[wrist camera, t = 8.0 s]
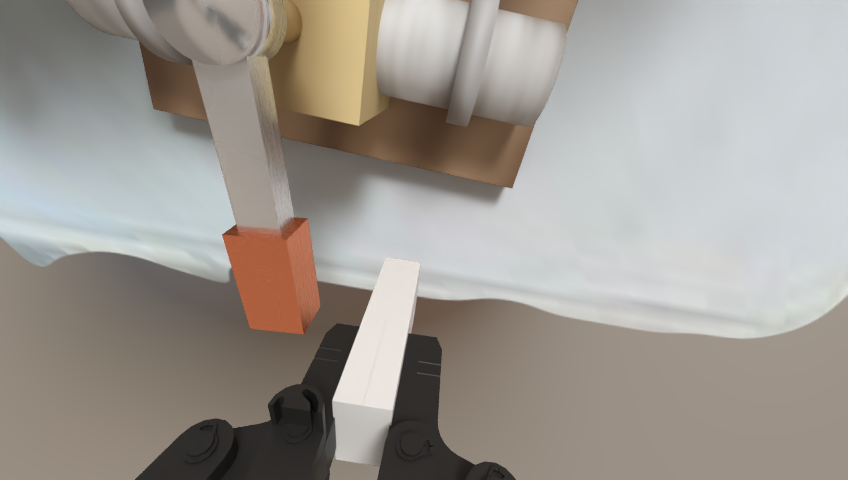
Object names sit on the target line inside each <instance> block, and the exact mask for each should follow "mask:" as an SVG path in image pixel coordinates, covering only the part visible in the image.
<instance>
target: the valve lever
mask: <svg viewBox="0 0 848 480" xmlns="http://www.w3.org/2000/svg"><path fill="white" fill-rule="evenodd" d="M142 1H143V4H144V7H145V9H146V11H147V13H148V15H149V17H150V19H151V20H152V22H153V24H154V25H155V27H156V28H157V30H158V31H159V32H160V34H161V35H162V36H163V37H164V39H165V40H166V41H167V42H168V43H169V44H170V45H171V46H172V47H174V48H175V49H176V50H177V51H178V52H180V53H181V54H183V55H184V56H186V57H188V58H189V59H191V60H192V62H193V66H194V69H195V73H196V77H197V81H198V84H199V88H200V92H201V95H202V99H203V103H204V106H205V110H206V114H207V118H208V121H209V125H210V129H211V132H212V136H213V140H214V144H215V147H216V151H217V155H218V158H219V162H220V166H221V169H222V173H223V177H224V181H225V184H226V188H227V192H228V195H229V199H230V203H231V207H232V210H233V214H234V218H235V221H236V225H235V226H234V227H232V228H231V229H229V230H228V231H227V232H225V233H224V234H222V236H223V239H224V243H225V246H226V249H227V253H228V256H229V259H230V263H231V266H232V269H233V272H234V276H235V279H236V282H237V286H238V289H239V292H240V296H241V299H242V302H243V306H244V309H245V312H246V316H247V319H248V323H249V326H250V328H251V329H259V330H268V331H277V332H287V333H295V334H305V332H306V330H307V328H308V327H309V325H310V323H311V322H312V320H313V318H314V316H315V315H316V313H317V311H318V309H319V308H320V299H319V292H318V286H317V278H316V272H315V265H314V258H313V251H312V244H311V237H310V231H309V224H308V219H306V218H295V217H294V214H293V208H292V202H291V196H290V190H289V184H288V178H287V172H286V166H285V160H284V155H283V149H282V143H281V137H280V131H279V125H278V119H277V113H276V107H275V101H274V95H273V89H272V84H271V78H270V72H269V66H268V60H270V59H271V58H272V57H274V56H275V55H276V53H277V52H278V51H279V49H280V48H281V46H282V44H283V41H284V38H285V34H286V28H287V15H286V8H285V3H284V0H142Z"/></svg>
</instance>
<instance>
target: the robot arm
mask: <svg viewBox="0 0 848 480" xmlns="http://www.w3.org/2000/svg"><path fill="white" fill-rule="evenodd" d="M420 265H421V263H419V262H412V261H405V260H398V259H391V258H386V259H385V261H384V264H383V267H382V269H381V272H380V275H379V277H378V280H377V283H376V285H375V288H374V291H373V293H372V296H371V299H370V302H369V304H368V307H367V309H366V312H365V315H364V317H363V320H362V323H361V325H360V327H358V326H351V325H344V324H336V325H335V326H334V327H333V328H332V329H330V330H329V331H328V332H327V333H326V335H325V337H324V338H323V341H322V343H321V345H320V348H319V349H318V351H317V353H316V355H315V358H314V360H313V361H312V363H311V365H310V367H309V369H308V371H307V373H306V375H305V377H304V379H303V381H302V383H301V384H297V385H293V386H290V387H287V388H285V389H283V390H282V391H280V392H279V393H277V394H276V395H275V396H274V397H273V399H272V400H271V401H270V402H269V404H268V408H269V412H270V417H271V420H270V421H268V422H264V423H261V424H256V425H250V426H244V427H238V428H232V426H231V425H230V424H229V423H228V422H227V421H225V420H221V419H211V420H204V421H202V422H200V423H198V424H195V425H193V426H191V427H190V428H189V429H187V430H186V431H185V432H184V433H182V434H181V435H180V436H179V437H178V438H177V439H176V440H175V441H174V442H173V443H172V444H171V445H170V446H169V447H168V448H167V449H166V450H165V451H164V452H163V453H162V454H161V455H159V456H158V457H157V458H156V459H155V460H154V461H153V462H152V463H151V464H150V465H149V466H148V467H147V468H146V469H145V470H144V471H143V472H142V473H141V474H140V475H139V476H138V477H137V478H136V479H135V480H329V476H330V471H329V469H330V466H331V463H332V460H333V457H334V454H335V456H336V459H337V460H343V461H349V462H355V463H361V464H367V465H374V466H379V467H380V469H379V475H378V480H516V479H515V478H514V477H513V476H512V475H511V473H509V472H508V470H506V468H504V467H502V466H500V465H499V464H497V463H493V462H482V463H479V464H477V465H474V464H472V463H471V462H469V461H467V460H465V459H463V458H461V457H460V456H458V455H456V454H455V453H454V452H452V451H451V450H450V449H449V448H448V447H447V446H446V445H445V443H444V442H443V440H442V438H441V436H440V433H439V430H438V406H439V389H440V372H441V356H442V349H441V347H440V345H439V342H438V340H437V338H436V337H430V336H423V335H416V334H411V330H412V325H413V319H414V314H415V305H416V297H417V290H418V282H419V274H420Z"/></svg>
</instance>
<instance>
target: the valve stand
mask: <svg viewBox="0 0 848 480" xmlns="http://www.w3.org/2000/svg"><path fill="white" fill-rule="evenodd" d="M67 2H68V3H69V4H70V6H71V7H72V8H73V9H74V10H75V11H76V13H77V14H78V15H79V16H80V17H82V18H83V19H84V20H85V21H86V22H88V23H89V24H90V25H92V26H93V27H95V28H97V29H98V30H100V31H103V32H105V33H108V34H112V35H116V36H121V37H125V38H130V39H134V40H139V43H140V48H141V52H142V57H143V62H144V66H145V71H146V76H147V80H148V85H149V89H150V94H151V99H152V103H153V108H154V109H156V110H161V111H165V112H170V113H174V114H179V115H183V116H188V117H192V118H197V119H201V120H206V121H208V118H207V114H206V110H205V106H204V103H203V99H202V95H201V92H200V88H199V84H198V81H197V77H196V73H195V69H194V66H193V62H192V60H191V59H189V58H188V57H186V56H184V55H183V54H181V53H180V52H178V51H177V50H176V49H175V48H174V47H172V46H171V45H170V44H169V43H168V42H167V41H166V40H165V39H164V37H163V36H162V35H161V34H160V32H159V31H158V30H157V28H156V27H155V25H154V24H153V22H152V20H151V19H150V17H149V15H148V13H147V11H146V9H145V7H144V4H143V1H142V0H67ZM577 2H578V0H284V3H285V8H286V15H287V28H286V34H285V38H284V41H283V44H282V46H281V48H280V49H279V51H278V52H277V53H276V55H275V56H274V57H272V58H271V59H270V60H268V66H269V72H270V78H271V84H272V89H273V95H274V101H275V107H276V113H277V119H278V125H279V131H280V137H283V138H287V139H292V140H296V141H301V142H305V143H310V144H314V145H319V146H323V147H328V148H332V149H337V150H341V151H346V152H350V153H355V154H359V155H364V156H368V157H373V158H377V159H382V160H387V161H391V162H396V163H400V164H405V165H409V166H414V167H418V168H423V169H427V170H432V171H436V172H441V173H445V174H450V175H454V176H459V177H463V178H468V179H472V180H477V181H481V182H486V183H490V184H495V185H499V186H504V187H508V188H512V187H513V184H514V182H515V179H516V176H517V173H518V170H519V167H520V164H521V162H522V159H523V156H524V153H525V150H526V147H527V145H528V142H529V139H530V136H531V133H532V130H533V127H534V125H535V122H536V120H537V119H538V117H539V116H540V114H541V112H542V110H543V108H544V106H545V104H546V102H547V100H548V98H549V96H550V93H551V91H552V88H553V86H554V83H555V80H556V77H557V74H558V71H559V68H560V65H561V61H562V57H563V53H564V48H565V42H566V34H567V31H568V28H569V25H570V22H571V19H572V16H573V14H574V11H575V8H576V5H577Z"/></svg>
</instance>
